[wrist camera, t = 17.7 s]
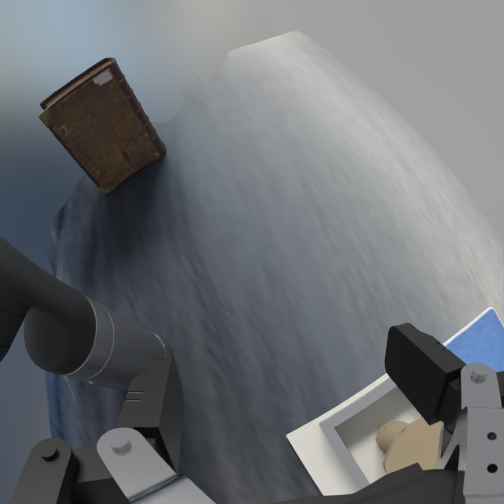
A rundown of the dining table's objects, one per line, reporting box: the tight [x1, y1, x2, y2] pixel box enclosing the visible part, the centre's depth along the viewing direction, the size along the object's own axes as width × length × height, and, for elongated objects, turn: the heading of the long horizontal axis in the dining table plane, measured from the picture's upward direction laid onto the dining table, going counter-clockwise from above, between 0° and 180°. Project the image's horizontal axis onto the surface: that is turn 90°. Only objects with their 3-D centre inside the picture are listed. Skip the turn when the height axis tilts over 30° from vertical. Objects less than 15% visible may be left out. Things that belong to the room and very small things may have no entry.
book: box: [39, 58, 165, 195], centre depth 53 cm, size 17×7×25 cm, turn 115°
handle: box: [375, 417, 443, 474], centre depth 24 cm, size 5×6×15 cm
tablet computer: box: [443, 307, 504, 372], centre depth 30 cm, size 19×13×1 cm, turn 24°
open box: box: [286, 373, 422, 496], centre depth 29 cm, size 17×14×5 cm
